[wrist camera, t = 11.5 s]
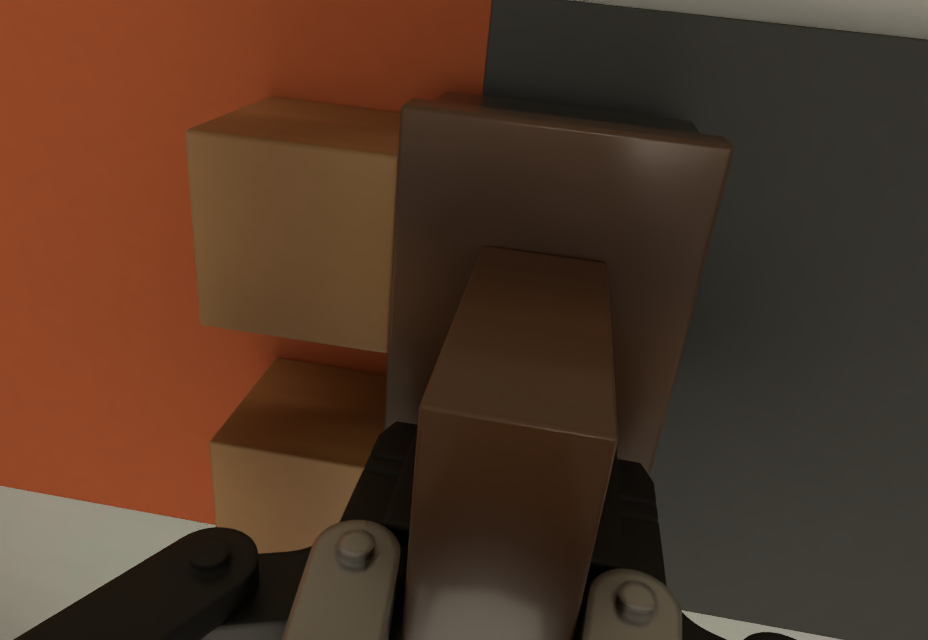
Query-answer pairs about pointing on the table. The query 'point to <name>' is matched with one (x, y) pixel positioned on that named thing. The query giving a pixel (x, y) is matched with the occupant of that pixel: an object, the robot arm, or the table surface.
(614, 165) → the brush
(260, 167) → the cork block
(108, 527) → the table surface
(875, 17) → the table surface
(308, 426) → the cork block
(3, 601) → the table surface
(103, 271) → the mat
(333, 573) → the robot arm
